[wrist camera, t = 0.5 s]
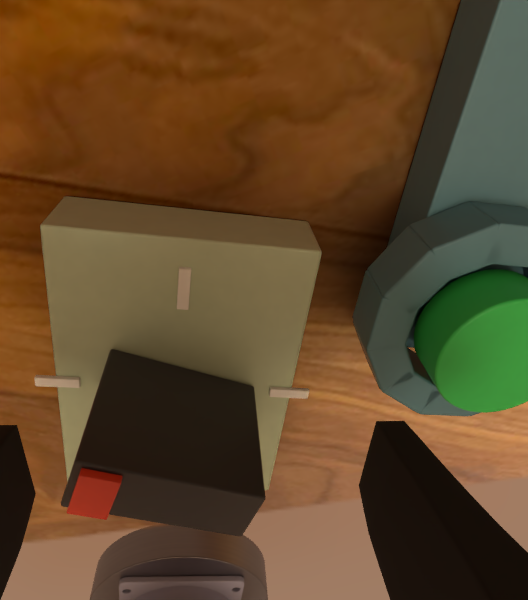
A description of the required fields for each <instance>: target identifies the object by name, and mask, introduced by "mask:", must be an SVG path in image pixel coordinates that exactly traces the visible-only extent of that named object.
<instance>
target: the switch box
mask: <svg viewBox="0 0 528 600" xmlns="http://www.w3.org/2000/svg"><path fill="white" fill-rule="evenodd" d="M491 269H503V270H509V271H514V272H517V273H520V274H522V275H524V276H526V277H527V278H528V0H461V3H460V6H459V9H458V13H457V16H456V19H455V23H454V26H453V29H452V33H451V36H450V39H449V43H448V46H447V49H446V52H445V56H444V59H443V62H442V66H441V69H440V72H439V76H438V79H437V82H436V86H435V89H434V92H433V96H432V99H431V102H430V106H429V109H428V112H427V116H426V119H425V122H424V126H423V129H422V132H421V136H420V139H419V142H418V146H417V149H416V152H415V156H414V159H413V162H412V165H411V169H410V172H409V175H408V179H407V182H406V185H405V189H404V192H403V195H402V199H401V202H400V205H399V209H398V212H397V215H396V219H395V222H394V225H393V229H392V232H391V235H390V239H389V242H388V245H387V248H386V249H385V250H384V251H383V253H382V254H381V255H380V256H379V257H378V258H377V259H376V260H375V261H374V262H373V263H372V264H371V265H370V266H369V267H368V269H367V270H366V271H365V275H364V278H363V282H362V285H361V289H360V292H359V296H358V299H357V303H356V306H355V310H354V313H353V317H352V318H353V323H354V326H355V329H356V332H357V335H358V337H359V340H360V343H361V346H362V348H363V351H364V354H365V357H366V359H367V361H368V363H369V366H370V368H371V370H372V373H373V375H374V377H375V379H376V382H377V384H378V386H379V388H380V389H381V390H382V392H384V393H385V394H387V395H389V396H390V397H392V398H394V399H395V400H397V401H399V402H400V403H402V404H403V405H405V406H407V407H408V408H410V409H412V410H413V411H415V412H417V413H419V414H426V415H450V416H472V415H475V414H478V413H481V412H471V411H466V410H463V409H460V408H458V407H456V406H454V405H452V404H450V403H449V402H448V401H446V400H445V399H444V398H443V397H442V396H441V394H440V393H439V391H438V389H437V388H436V386H435V384H434V383H433V381H432V379H431V378H430V376H429V374H428V373H427V371H426V369H425V368H424V366H423V364H422V363H421V361H420V359H419V358H418V356H417V354H416V353H415V352H413V351H412V350H410V349H409V348H407V347H413V348H415V347H414V331H415V326H416V323H417V320H418V318H419V316H420V314H421V312H422V310H423V309H424V307H425V306H426V305H427V303H428V302H429V301H430V300H431V299H432V298H433V297H434V296H435V294H437V293H438V292H439V291H440V290H441V289H442V288H444V287H445V286H447V285H448V284H450V283H451V282H453V281H455V280H457V279H458V278H461V277H463V276H465V275H468V274H471V273H474V272H478V271H483V270H491Z"/></svg>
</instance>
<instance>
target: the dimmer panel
mask: <svg viewBox="0 0 528 600" xmlns="http://www.w3.org/2000/svg"><path fill="white" fill-rule="evenodd" d="M40 231H41V240H42V250H43V259H44V268H45V278H46V287H47V296H48V305H49V315H50V324H51V333H52V343H53V352H54V361H55V370H56V376H48V375H36V376H35V386H46V387H57V389H58V398H59V408H60V417H61V426H62V436H63V445H64V454H65V463H66V473H67V482H68V479H69V476H70V473H71V470H72V467H73V464H74V461H75V457H76V454H77V451H78V448H79V445H80V442H81V439H82V436H83V432H84V429H85V426H86V423H87V420H88V417H89V414H90V411H91V408H92V404H93V401H94V398H95V395H96V392H97V389H98V386H99V383H100V380H101V377H102V373H103V370H104V367H105V364H106V361H107V358H108V355H109V352H110V350H111V349H115V350H119V351H122V352H126V353H130V354H134V355H137V356H141V357H145V358H149V359H152V360H156V361H160V362H164V363H168V364H171V365H175V366H179V367H183V368H186V369H190V370H194V371H198V372H202V373H205V374H209V375H213V376H217V377H220V378H224V379H228V380H232V381H235V382H239V383H243V384H247V385H251V386H253V387H254V391H255V401H256V411H257V420H258V430H259V440H260V450H261V459H262V469H263V479H264V489H265V490H268V489H269V485H270V481H271V477H272V472H273V468H274V463H275V459H276V454H277V450H278V446H279V441H280V437H281V432H282V428H283V423H284V419H285V414H286V410H287V406H288V401H289V398H303V399H307V398H308V395H309V389H308V388H292V383H293V379H294V375H295V370H296V366H297V361H298V357H299V352H300V348H301V344H302V339H303V335H304V330H305V326H306V321H307V317H308V312H309V308H310V304H311V299H312V295H313V290H314V286H315V281H316V277H317V273H318V268H319V264H320V259H321V255H322V251H321V249H320V247H319V245H318V242H317V240H316V238H315V236H314V234H313V231H312V229H311V227H310V225H309V222H307V221H299V220H289V219H280V218H270V217H261V216H251V215H242V214H232V213H223V212H213V211H203V210H194V209H184V208H175V207H165V206H156V205H146V204H136V203H127V202H117V201H108V200H98V199H89V198H79V197H69V196H65V197H64V198H63V199H62V200H61V201H60V202H59V204H58V205H57V206H56V207H55V208H54V210H53V211H52V212H51V213H50V214H49V215H48V217H47V218H46V219H45V220H44V221H43V222H42V224H41V225H40Z"/></svg>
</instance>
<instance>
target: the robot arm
mask: <svg viewBox="0 0 528 600" xmlns="http://www.w3.org/2000/svg"><path fill="white" fill-rule="evenodd" d="M359 488H360V493H361V498H362V503H363V508H364V513H365V517H366V522H367V527H368V531H369V535H370V539H371V542H372V545H373V548H374V551H375V554H376V557H377V560H378V564H379V567H380V569H381V573H382V576H383V579H384V582H385V585H386V588H387V591H388V594H389V597H390V600H528V552H526V551H525V550H524V549H523V548H522V547H521V546H520V545H519V544H518V543H517V542H516V541H515V540H514V539H513V538H512V537H511V536H510V535H509V534H508V533H507V532H506V531H505V530H504V529H503V528H502V527H501V526H500V525H499V524H498V523H497V522H496V521H495V520H494V519H493V518H492V517H491V516H490V515H489V514H488V513H487V511H486V510H485V509H484V508H483V507H482V506H481V505H480V504H479V503H478V502H477V501H476V500H475V499H474V498H473V497H472V496H471V495H470V494H469V492H468V491H467V490H466V489H465V488H464V487H463V486H462V485H461V484H460V483H459V482H458V481H457V479H456V478H455V477H454V476H453V475H452V474H451V473H450V472H449V471H448V469H447V468H446V467H445V466H444V465H443V464H442V463H441V462H440V461H439V459H438V458H437V457H436V456H435V455H434V454H433V453H432V452H431V450H430V449H429V448H428V447H427V446H426V445H425V444H424V443H423V441H422V440H421V439H420V438H419V437H418V436H417V435H416V434H415V433H414V431H413V430H412V429H411V428H410V427H409V426H408V425H407V424H406V422H405V421H376V425H375V428H374V432H373V436H372V439H371V443H370V447H369V450H368V454H367V458H366V461H365V465H364V469H363V472H362V476H361V480H360V483H359ZM34 498H35V490H34V486H33V483H32V479H31V475H30V472H29V468H28V464H27V461H26V457H25V453H24V450H23V446H22V442H21V439H20V435H19V431H18V428H17V425H0V599H1V597H2V595H3V592H4V590H5V587H6V584H7V582H8V579H9V577H10V574H11V572H12V569H13V567H14V564H15V562H16V559H17V556H18V554H19V551H20V549H21V545H22V542H23V538H24V535H25V531H26V528H27V524H28V521H29V517H30V513H31V509H32V505H33V502H34ZM243 588H244V578H243V577H242V576H144V577H124V578H122V579H120V581H119V600H241V598H242V593H243Z"/></svg>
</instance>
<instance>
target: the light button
mask: <svg viewBox="0 0 528 600" xmlns="http://www.w3.org/2000/svg"><path fill="white" fill-rule="evenodd" d="M414 347H415V351H416V353H417V356H418V358H419V359H420V361H421V363H422V364H423V366H424V368H425V369H426V371H427V373H428V374H429V376H430V378H431V379H432V381H433V383H434V384H435V386H436V388H437V389H438V391H439V393H440V394H441V396H442V397H443V398H444V399H445V400H446V401H448V402H449V403H450V404H452V405H454V406H456V407H458V408H460V409H463V410H466V411H471V412H496V411H501V410H505V409H509V408H512V407H515V406H518V405H520V404H523V403H525V402H527V401H528V278H527V277H526V276H524V275H522V274H520V273H517V272H514V271H509V270H503V269H491V270H483V271H478V272H474V273H471V274H468V275H465V276H463V277H461V278H458V279H457V280H455V281H453V282H451V283H450V284H448V285H447V286H445V287H444V288H442V289H441V290H440V291H439V292H438V293H437V294H435V296H434V297H433V298H432V299H431V300H430V301H429V302H428V303H427V305H426V306H425V307H424V309H423V310H422V312H421V314H420V316H419V318H418V320H417V323H416V326H415V331H414Z"/></svg>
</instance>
